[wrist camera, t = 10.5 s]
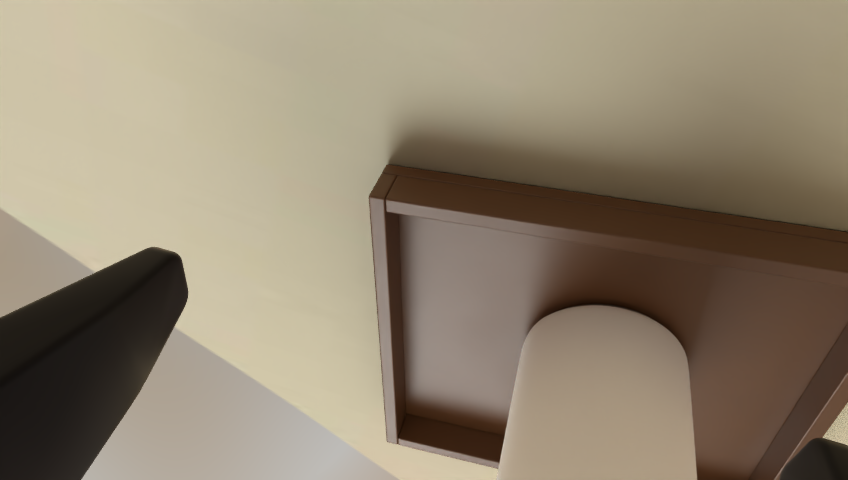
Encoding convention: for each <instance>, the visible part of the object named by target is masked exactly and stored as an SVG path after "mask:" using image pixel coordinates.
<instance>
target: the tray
mask: <svg viewBox="0 0 848 480" xmlns="http://www.w3.org/2000/svg"><path fill="white" fill-rule="evenodd" d="M369 206H370V220H371V233H372V247H373V260H374V274H375V287H376V301H377V314H378V328H379V341H380V355H381V368H382V382H383V395H384V409H385V422H386V436H387V442H389V443H394V444H399V445H401V446H406V447H410V448H414V449H418V450H422V451H426V452H430V453H435V454H439V455H443V456H447V457H451V458H455V459H460V460H464V461H468V462H472V463H476V464H480V465H484V466H489V467H493V468H497V469H498V468H499V463H500V458H501V452H502V447H503V442H504V437H505V432H506V427H507V421H508V416H509V411H510V406H511V401H512V396H513V391H514V386H515V380H516V375H517V371H518V366H519V361H520V356H521V352H522V348H523V344H524V341H525V339H526V337H527V335H528V333H529V332H530V330H531V329H532V327H533V326H534V325H535V324H536V323H537V322H538V321H540V320H541V319H542V318H544V317H546V316H548V315H550V314H552V313H554V312H556V311H559V310H562V309H565V308H568V307H572V306H577V305H583V304H609V305H616V306H621V307H625V308H628V309H632V310H634V311H637V312H640V313H642V314H644V315H646V316H648V317H650V318H651V319H653V320H655V321H656V322H658V323H659V324H661V325H662V326H664V327H665V328H666V329H668V330H669V331H670V332H671V333H672V334H673V335H674V336H675V337H676V338H677V339H678V341H679V342H680V344H681V345H682V347H683V349H684V351H685V353H686V356H687V361H688V368H689V378H690V390H691V403H692V416H693V429H694V443H695V457H696V470H697V480H779V479H780V475H781V472H782V470H783V468H784V467H785V466H786V464H787V463H788V462H789V461H790V460H791V459H792V458H793V457H794V456H795V455H796V454H797V453H798V452H799V451H800V450H801V449H802V448H803V447H804V446H805V445H806V444H807V443H808V442H809V441H811V440H812V439H815V438H822V437H823V436H824V434H825V433H826V432H827V430H828V429H829V427H830V426H831V425H832V423H833V422H834V421H835V419H836V418H837V416H838V415H839V414H840V412H841V411H842V409H843V408H844V407H845V405H846V404H847V403H848V232H842V231H836V230H829V229H822V228H815V227H808V226H802V225H795V224H788V223H781V222H775V221H768V220H761V219H754V218H747V217H741V216H734V215H727V214H720V213H714V212H707V211H700V210H693V209H686V208H680V207H673V206H666V205H659V204H652V203H646V202H639V201H632V200H625V199H619V198H612V197H605V196H598V195H591V194H585V193H578V192H571V191H564V190H558V189H551V188H544V187H537V186H530V185H524V184H517V183H510V182H503V181H496V180H490V179H483V178H476V177H469V176H463V175H456V174H449V173H442V172H435V171H429V170H422V169H415V168H408V167H402V166H395V165H386V167H385V169H384V170H383V172H382V174H381V176H380V177H379V179H378V181H377V183H376V184H375V186H374V188H373V190H372V191H371V193H370V195H369Z"/></svg>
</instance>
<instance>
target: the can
mask: <svg viewBox="0 0 848 480" xmlns="http://www.w3.org/2000/svg"><path fill="white" fill-rule="evenodd" d="M496 480H697V470H696V457H695V443H694V429H693V416H692V403H691V390H690V378H689V368H688V361H687V356H686V353H685V351H684V349H683V347H682V345H681V344H680V342H679V341H678V339H677V338H676V337H675V336H674V335H673V334H672V333H671V332H670V331H669V330H668V329H666V328H665V327H664V326H662V325H661V324H659V323H658V322H656V321H655V320H653V319H651V318H650V317H648V316H646V315H644V314H642V313H640V312H637V311H634V310H632V309H628V308H625V307H621V306H616V305H609V304H583V305H577V306H572V307H568V308H565V309H562V310H559V311H556V312H554V313H552V314H550V315H548V316H546V317H544V318H542V319H541V320H540V321H538V322H537V323H536V324H535V325H534V326H533V327H532V329H531V330H530V332H529V333H528V335H527V337H526V339H525V341H524V344H523V348H522V352H521V356H520V361H519V366H518V371H517V375H516V380H515V386H514V391H513V396H512V401H511V406H510V411H509V416H508V421H507V427H506V432H505V437H504V442H503V447H502V452H501V458H500V463H499V468H498V473H497V479H496Z"/></svg>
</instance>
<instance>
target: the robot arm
mask: <svg viewBox="0 0 848 480" xmlns="http://www.w3.org/2000/svg"><path fill="white" fill-rule="evenodd" d="M187 298H188V287H187V282H186V278H185V273H184V268H183V263H182V259H181V257H180V256H179V255H178V254H177V253H175V252H172V251H169V250H165V249H162V248H158V247H150V248H147V249H145V250H142V251H140V252H138V253H136V254H134V255H132V256H130V257H128V258H126V259H123V260H121V261H119V262H117V263H115V264H113V265H111V266H109V267H106V268H104V269H102V270H100V271H98V272H96V273H94V274H92V275H90V276H87V277H85V278H83V279H81V280H79V281H77V282H75V283H73V284H71V285H69V286H66V287H64V288H62V289H60V290H58V291H56V292H54V293H52V294H50V295H47V296H46V297H43V298H41V299H39V300H37V301H35V302H32V303H30V304H28V305H26V306H24V307H22V308H20V309H18V310H16V311H13V312H11V313H9V314H7V315H5V316H3V317H1V318H0V480H81V479H82V478H83V476H84V474H85V473H86V471H87V470H88V469H89V467H90V466H91V464H92V463H93V461H94V460H95V458H96V457H97V455H98V454H99V452H100V451H101V449H102V448H103V446H104V445H105V443H106V442H107V440H108V439H109V437H110V436H111V434H112V433H113V431H114V430H115V428H116V427H117V425H118V424H119V423H120V421H121V420H122V418H123V417H124V415H125V414H126V412H127V410H128V409H129V408H130V406H131V405H132V403H133V401H134V400H135V398H136V397H137V395H138V394H139V392H140V390H141V388H142V386H143V385H144V383H145V381H146V380H147V378H148V376H149V374H150V372H151V370H152V368H153V366H154V364H155V362H156V361H157V359H158V357H159V355H160V353H161V351H162V349H163V347H164V345H165V343H166V341H167V339H168V338H169V336H170V334H171V332H172V330H173V328H174V326H175V324H176V322H177V321H178V319H179V317H180V315H181V313H182V311H183V309H184V307H185V305H186V302H187ZM779 480H848V446H847V445H845V444H841V443H838V442H835V441H831V440H828V439H824V438H815V439H812V440H811V441H809V442H808V443H807V444H806V445H805V446H804V447H803V448H802V449H801V450H800V451H799V452H798V453H797V454H796V455H795V456H794V457H793V458H792V459H791V460H790V461H789V462H788V463H787V464H786V466H785V467H784V468H783V470H782V472H781V475H780V479H779Z"/></svg>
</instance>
